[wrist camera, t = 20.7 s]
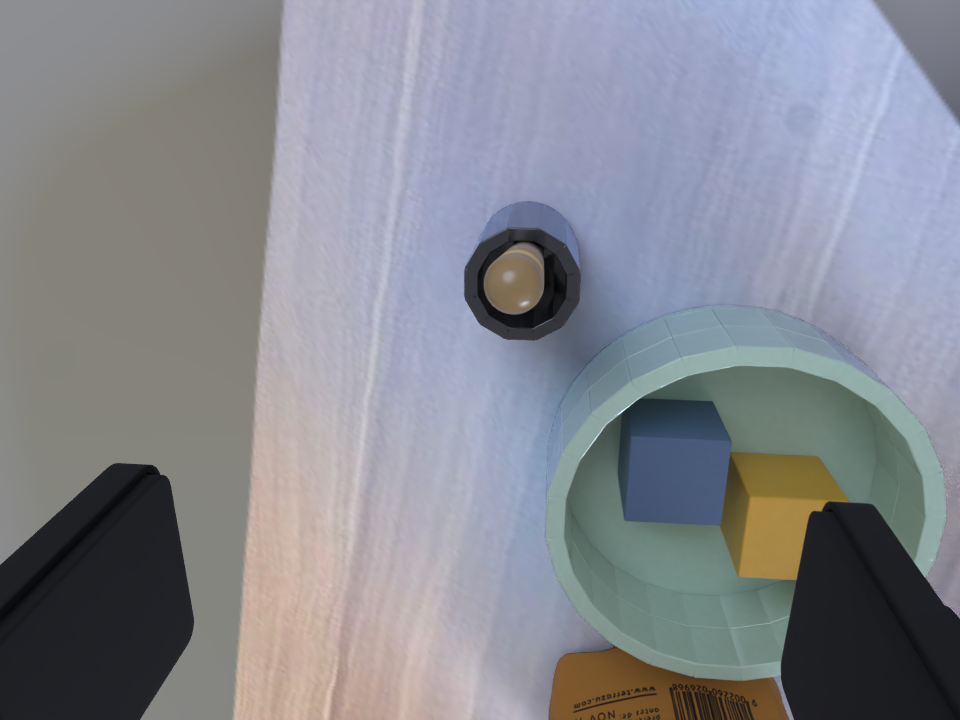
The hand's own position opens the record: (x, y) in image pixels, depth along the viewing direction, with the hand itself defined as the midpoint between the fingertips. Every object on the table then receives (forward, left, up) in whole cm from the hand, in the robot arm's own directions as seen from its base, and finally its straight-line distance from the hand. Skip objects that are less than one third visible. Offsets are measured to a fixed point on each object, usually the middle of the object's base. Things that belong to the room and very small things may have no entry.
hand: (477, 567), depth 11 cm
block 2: (+11, +11, -23) cm, 28 cm away
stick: (+1, 0, -23) cm, 23 cm away
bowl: (+10, +9, -23) cm, 27 cm away
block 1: (+9, +6, -23) cm, 25 cm away
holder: (0, 0, -23) cm, 23 cm away
